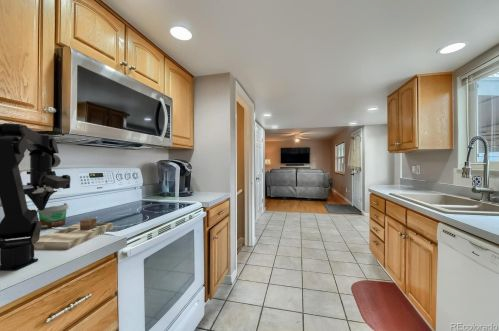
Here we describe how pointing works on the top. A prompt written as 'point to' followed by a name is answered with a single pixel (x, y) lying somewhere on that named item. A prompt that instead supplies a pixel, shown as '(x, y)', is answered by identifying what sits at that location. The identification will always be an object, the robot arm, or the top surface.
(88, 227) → the walnut block
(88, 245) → the top surface
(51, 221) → the food container
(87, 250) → the top surface
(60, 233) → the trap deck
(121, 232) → the top surface
